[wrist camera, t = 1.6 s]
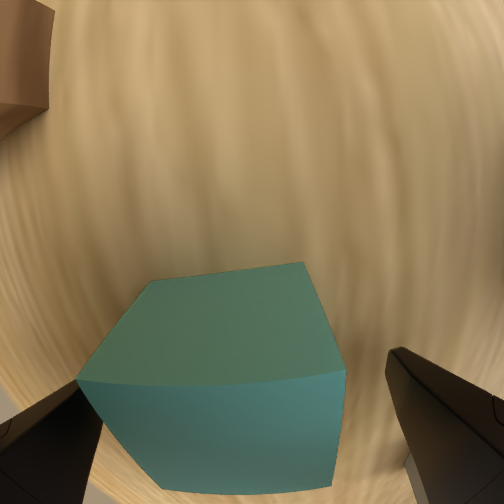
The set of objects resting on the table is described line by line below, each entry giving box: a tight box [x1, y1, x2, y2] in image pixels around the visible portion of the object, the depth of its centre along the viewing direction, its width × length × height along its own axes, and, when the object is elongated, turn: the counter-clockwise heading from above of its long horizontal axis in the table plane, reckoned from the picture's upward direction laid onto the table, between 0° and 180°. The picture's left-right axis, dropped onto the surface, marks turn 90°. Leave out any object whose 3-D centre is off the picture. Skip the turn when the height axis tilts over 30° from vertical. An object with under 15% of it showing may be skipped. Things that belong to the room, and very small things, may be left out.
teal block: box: [75, 262, 347, 495], centre depth 7 cm, size 5×5×5 cm
